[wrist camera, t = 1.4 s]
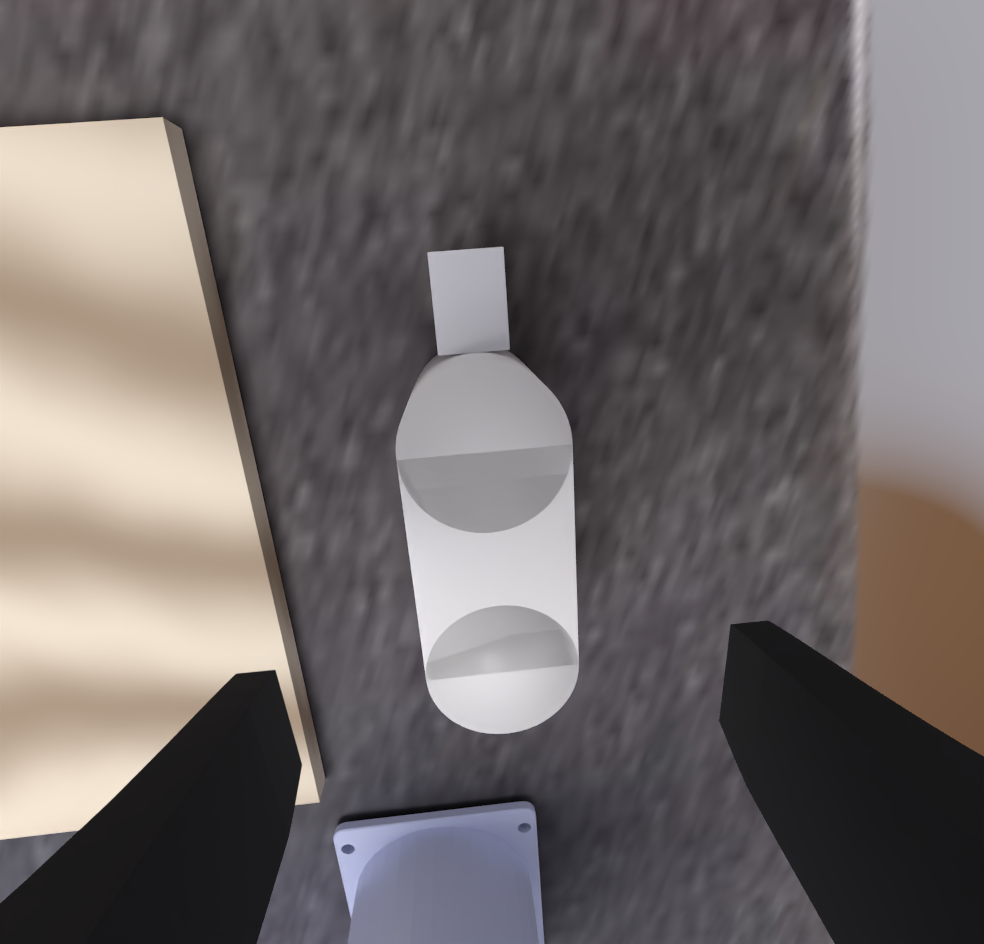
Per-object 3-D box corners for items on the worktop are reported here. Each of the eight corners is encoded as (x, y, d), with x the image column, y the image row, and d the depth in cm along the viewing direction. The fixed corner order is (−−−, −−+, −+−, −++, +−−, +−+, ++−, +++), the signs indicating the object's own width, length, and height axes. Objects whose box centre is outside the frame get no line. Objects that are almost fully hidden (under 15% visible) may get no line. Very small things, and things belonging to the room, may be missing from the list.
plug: (549, 621, 20) (580, 725, 15) (438, 632, 20) (434, 741, 15) (532, 251, 16) (566, 235, 11) (393, 262, 16) (367, 249, 11)
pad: (325, 779, 21) (319, 802, 20) (-50, 822, 21) (-75, 848, 20) (181, 128, 14) (162, 117, 13) (-392, 165, 14) (-455, 156, 13)
